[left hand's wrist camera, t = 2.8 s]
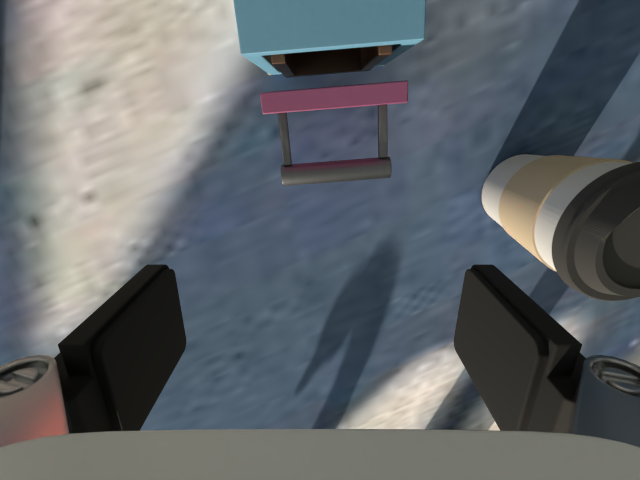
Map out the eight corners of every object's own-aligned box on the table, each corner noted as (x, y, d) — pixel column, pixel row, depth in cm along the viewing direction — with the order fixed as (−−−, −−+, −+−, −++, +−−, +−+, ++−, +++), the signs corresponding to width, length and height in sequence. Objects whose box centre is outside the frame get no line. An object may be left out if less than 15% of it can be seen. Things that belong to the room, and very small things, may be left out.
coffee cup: (583, 185, 33) (778, 240, 19) (509, 250, 36) (633, 342, 22) (526, 120, 31) (698, 130, 17) (451, 195, 33) (547, 257, 19)
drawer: (380, 165, 32) (406, 189, 22) (286, 172, 32) (273, 199, 22) (376, -164, 23) (415, -342, 14) (250, -152, 24) (206, -320, 14)
